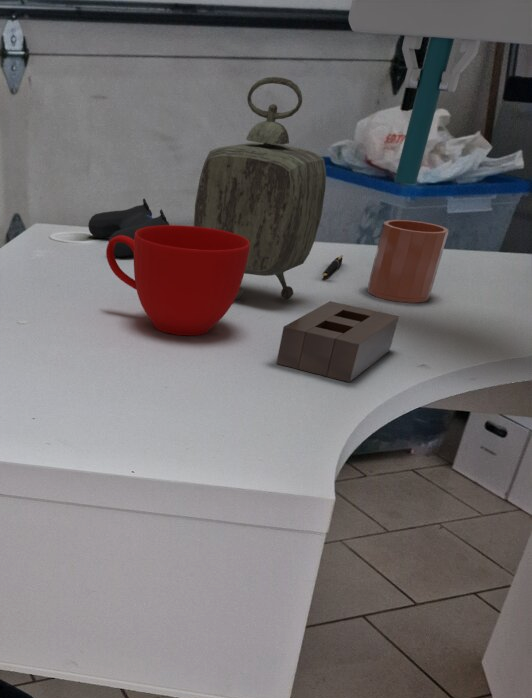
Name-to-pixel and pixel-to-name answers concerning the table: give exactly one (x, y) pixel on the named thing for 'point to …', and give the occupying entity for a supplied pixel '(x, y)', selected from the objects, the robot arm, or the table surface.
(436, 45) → the teal square bar
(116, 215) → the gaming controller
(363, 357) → the holder
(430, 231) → the tumbler
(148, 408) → the table surface
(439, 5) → the robot arm
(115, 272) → the ceramic cup
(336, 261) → the fountain pen
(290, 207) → the tabletop clock
